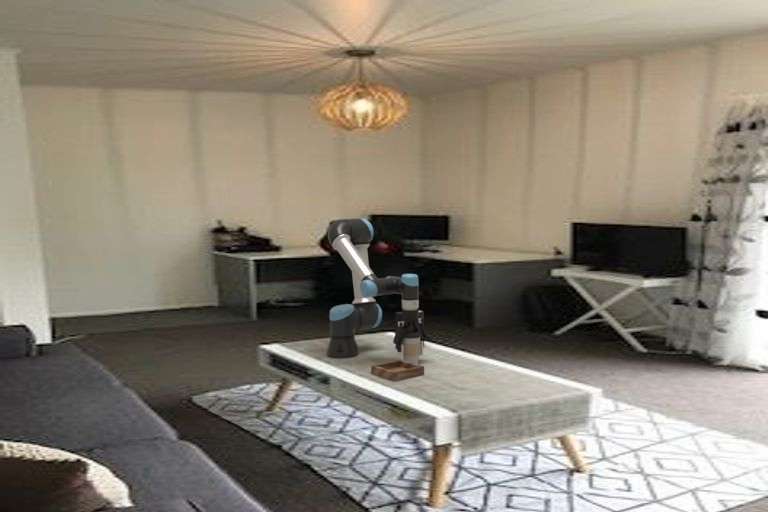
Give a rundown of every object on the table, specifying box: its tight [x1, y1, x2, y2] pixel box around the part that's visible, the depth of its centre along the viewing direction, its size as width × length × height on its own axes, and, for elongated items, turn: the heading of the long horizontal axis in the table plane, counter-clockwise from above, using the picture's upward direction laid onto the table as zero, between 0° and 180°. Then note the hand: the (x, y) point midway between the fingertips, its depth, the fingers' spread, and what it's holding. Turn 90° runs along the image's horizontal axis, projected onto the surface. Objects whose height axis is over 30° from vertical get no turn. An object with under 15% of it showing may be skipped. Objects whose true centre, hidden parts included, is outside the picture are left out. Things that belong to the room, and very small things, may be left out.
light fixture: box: [394, 309, 425, 350], centre depth 344 cm, size 10×14×18 cm
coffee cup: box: [402, 330, 421, 365], centre depth 312 cm, size 9×9×15 cm
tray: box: [370, 359, 425, 382], centre depth 295 cm, size 16×16×4 cm
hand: (410, 356), depth 312 cm, fingers open, 11 cm apart
